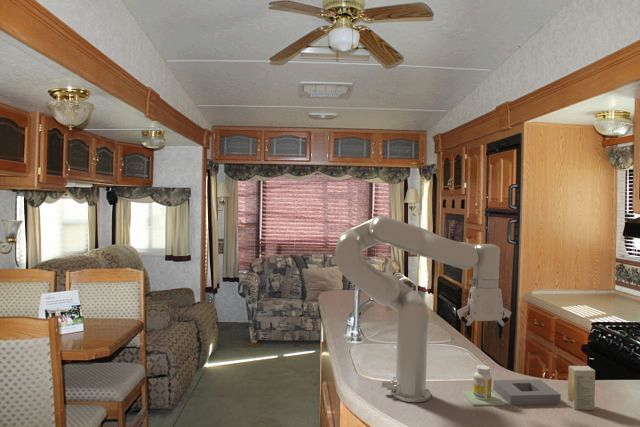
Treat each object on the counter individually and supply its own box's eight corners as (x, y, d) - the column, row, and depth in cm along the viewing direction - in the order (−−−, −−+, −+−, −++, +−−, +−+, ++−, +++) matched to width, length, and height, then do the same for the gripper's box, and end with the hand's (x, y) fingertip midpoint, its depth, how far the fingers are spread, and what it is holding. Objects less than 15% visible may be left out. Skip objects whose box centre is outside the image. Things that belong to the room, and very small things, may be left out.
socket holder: (510, 405, 147) (511, 395, 147) (493, 389, 159) (493, 380, 159) (560, 403, 148) (560, 394, 148) (539, 388, 160) (539, 379, 160)
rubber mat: (473, 405, 146) (473, 404, 146) (460, 392, 156) (460, 390, 156) (504, 405, 147) (504, 403, 147) (490, 391, 157) (490, 390, 157)
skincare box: (587, 404, 149) (589, 365, 148) (594, 410, 144) (596, 370, 144) (566, 403, 149) (567, 364, 148) (573, 409, 144) (574, 369, 144)
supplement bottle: (477, 400, 148) (478, 370, 148) (470, 393, 154) (471, 364, 153) (494, 400, 149) (494, 370, 148) (486, 393, 154) (487, 363, 154)
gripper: (463, 285, 145) (461, 340, 146) (517, 286, 147) (515, 341, 147) (454, 280, 153) (452, 333, 153) (506, 281, 154) (503, 333, 155)
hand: (483, 337), depth 150 cm, fingers open, 9 cm apart
